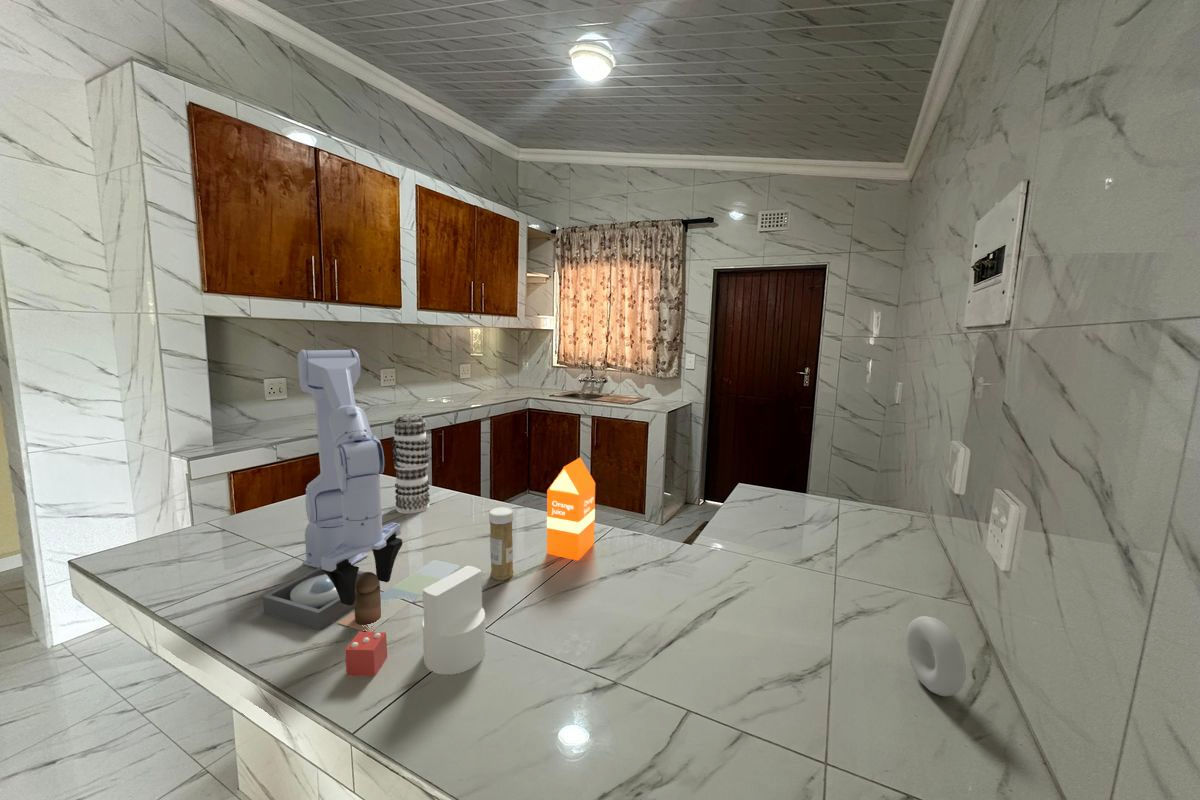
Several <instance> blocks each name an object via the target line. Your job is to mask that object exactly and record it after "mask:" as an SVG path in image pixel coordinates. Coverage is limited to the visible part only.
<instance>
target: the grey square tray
mask: <svg viewBox="0 0 1200 800" xmlns="http://www.w3.org/2000/svg"><path fill="white" fill-rule="evenodd" d="M364 572H365V571H361V570H358V573H357V576H356V578H357V577H358V576H359V575H360V574H362V573H364ZM324 574H326V573H325V572H324V571H323V570H322V567H319V568H314V569H313V570H310V571H309V572H307V573H306V574H303V575H301V576H299V577H298V578H296V579H294V580H293V579H292V580H291V581H289V582H288V583H286V584H283V585H281V586H280V587H277V588H275V589H274V590H272V591H270V592H268V593H266V594H264V595H263V596H262V597H261V599H262V608H263V614H267V615H270V616H273V617H276V618H279V619H282V620H285V621H289V622H293V623H296V624H299V625H301V626H305V627H308V628H312V629H314V630H318V631H321V630H322V629H324V628H326V627H327V626H329V625H330V624H331V622H332V621H333V622H335V621H337V619H339V618H341V617H342V616H344V615H345V614H347V613H349V612H350V611H352V610H353V609H354V604H353V605H351V606H349V605H346V604H342V603H341V600H340V598H337V599H335V600H334V601H332V602H330V603H329V604H327V605H325V606H324V607H320V608H313V607H310V606H306V605H303V604H299V603H296V602H292V601H291V599H290V593H291V591H292V589H293V588H294V587H295V586H297V585H298V584H300V583H301V582H303V581H305V580H307V579H310V578H313V577H316V576H319V575H324ZM375 575H376V574H375ZM376 576H377V575H376ZM378 585H379V586H380V587H381V581H379V580H378ZM352 608H353V609H352ZM346 612H347V613H346ZM334 620H335V621H334ZM333 622H332V623H333ZM323 627H324V628H323Z"/></svg>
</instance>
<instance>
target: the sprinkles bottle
mask: <svg viewBox="0 0 1200 800" xmlns="http://www.w3.org/2000/svg"><path fill="white" fill-rule="evenodd" d="M488 515H489V516H488V517H489V518H488V519H489V521H488V522H489V524H490V525H489V526H490V527H489V528H490V532H489V533H490V534H489V541H490V542H489V546H490V547H489V548H490V551H489V553H490V577H491V579H494V580H496V581H503V580H504V581H505V580H508V579H510V578H511V577H512V576H513V575H514V568H513V567H514V566H513V565H514V564H513V563H514V562H513V561H514V553H513V551H514V550H513V544H514V543H513V540H514V539H513V520H514V511H513V509H512V508H510V507H504V506H503V507H500V506H499V507H495V508H492V509H491V510H490V511H489V514H488Z"/></svg>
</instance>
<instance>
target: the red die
mask: <svg viewBox="0 0 1200 800" xmlns="http://www.w3.org/2000/svg"><path fill="white" fill-rule="evenodd" d="M387 645H388V644H387V632H382V631H379V632H376V631H373V632H364V631H359V632H357V634H356V635H355V636H354V638H353V639H352V640H351V641H350V643H349V644H348V645H347V646H346V647H345V650H344V653H345V655H344V656H345V671H346V676H356V677H357V676H361V677H375V676H376V675H377V673H378V672H379V670H380V669H381V668H382V667H383V665H384V663H385V662H386V660H387V658H388V646H387Z"/></svg>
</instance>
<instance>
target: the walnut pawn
mask: <svg viewBox="0 0 1200 800" xmlns="http://www.w3.org/2000/svg"><path fill="white" fill-rule="evenodd" d="M363 572H364V573H362V574H360V575H359V576H358V577H357V578H356V582H355V602H354V608H353V611H354V612H355V622H356V623H357V624H359V625H367V624H371V623H374V622H376V621H377V620H379V619H380V618H381V597H380V595H381V585H380V586H379V585H378V578H377V576H376V573H373V572H372V571H371V572H370V571H363Z"/></svg>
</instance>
